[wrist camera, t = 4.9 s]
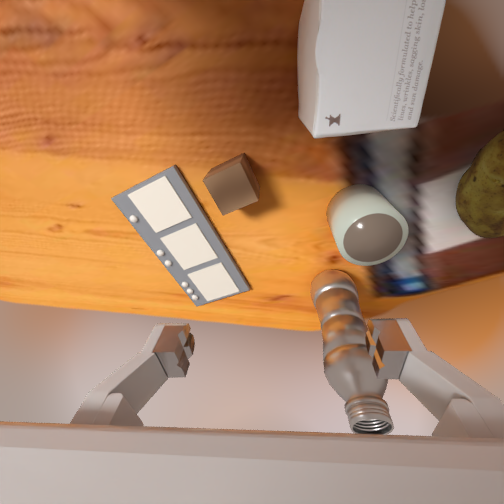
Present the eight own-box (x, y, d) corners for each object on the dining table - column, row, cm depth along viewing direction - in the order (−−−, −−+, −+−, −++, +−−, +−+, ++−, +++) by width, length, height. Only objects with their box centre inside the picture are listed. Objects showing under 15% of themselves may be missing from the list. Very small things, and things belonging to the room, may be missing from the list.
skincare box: (352, 113, 26) (423, 137, 14) (294, 118, 27) (311, 146, 15) (365, 3, 22) (485, -106, 9) (294, 12, 22) (319, -77, 10)
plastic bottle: (323, 302, 41) (356, 449, 25) (299, 276, 39) (319, 421, 22) (360, 285, 39) (424, 435, 22) (338, 255, 36) (392, 401, 19)
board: (114, 196, 34) (109, 199, 33) (175, 164, 31) (172, 167, 30) (197, 303, 43) (196, 307, 42) (249, 286, 41) (249, 291, 40)
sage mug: (319, 197, 32) (329, 223, 26) (377, 174, 30) (403, 197, 24) (334, 241, 35) (346, 273, 29) (388, 224, 33) (413, 254, 27)
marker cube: (211, 168, 31) (202, 180, 27) (244, 152, 29) (239, 162, 26) (228, 200, 33) (222, 215, 29) (260, 187, 31) (258, 200, 28)
